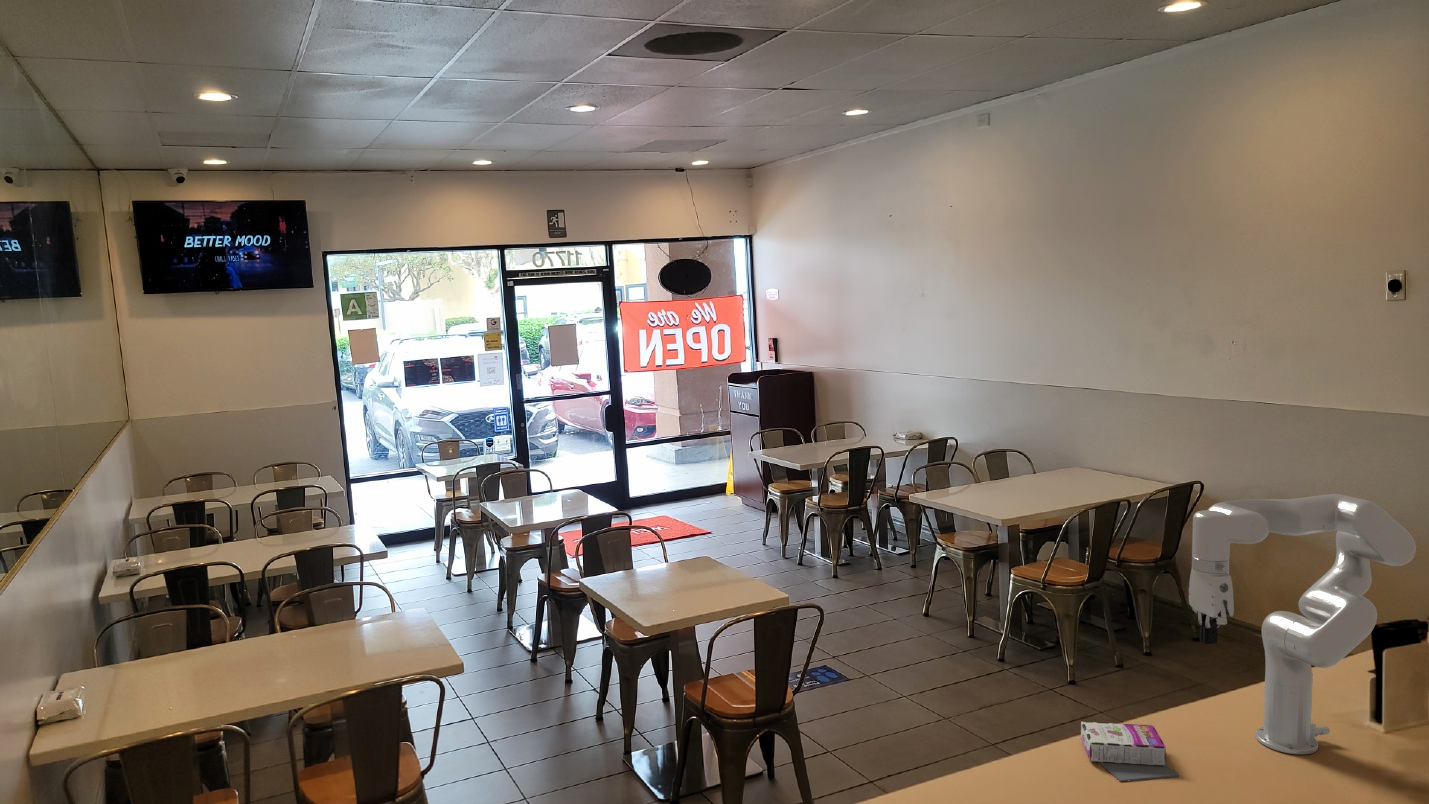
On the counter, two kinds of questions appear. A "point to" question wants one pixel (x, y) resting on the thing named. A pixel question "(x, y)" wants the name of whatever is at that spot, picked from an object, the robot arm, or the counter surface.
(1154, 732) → the candy bar box
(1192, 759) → the counter surface
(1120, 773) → the rubber mat
